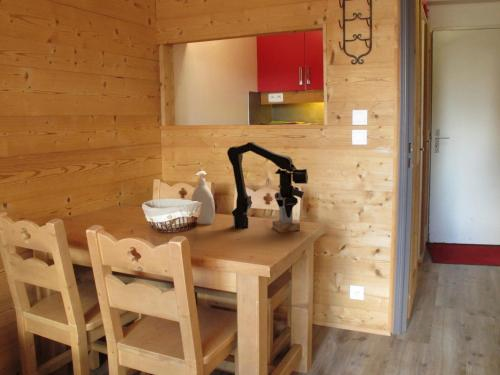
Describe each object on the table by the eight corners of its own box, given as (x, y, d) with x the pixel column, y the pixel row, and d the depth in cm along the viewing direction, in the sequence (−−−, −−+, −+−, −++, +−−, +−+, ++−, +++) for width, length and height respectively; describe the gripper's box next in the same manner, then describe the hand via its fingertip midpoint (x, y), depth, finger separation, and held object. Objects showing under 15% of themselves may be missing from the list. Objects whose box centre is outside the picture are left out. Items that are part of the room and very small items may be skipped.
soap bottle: (186, 223, 255) (184, 171, 251) (196, 220, 261) (194, 169, 258) (208, 226, 247) (206, 172, 243) (218, 223, 253) (217, 170, 250)
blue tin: (282, 223, 234) (282, 208, 233) (279, 221, 239) (279, 206, 238) (292, 222, 236) (292, 208, 234) (289, 220, 240) (289, 206, 239)
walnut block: (280, 233, 232) (280, 224, 231) (272, 228, 241) (272, 220, 240) (300, 231, 235) (299, 223, 234) (291, 227, 244) (291, 219, 243)
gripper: (308, 185, 227) (308, 218, 230) (295, 180, 245) (296, 211, 248) (285, 186, 225) (285, 220, 227) (274, 181, 243) (274, 212, 245)
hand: (285, 215), depth 237 cm, fingers open, 9 cm apart
